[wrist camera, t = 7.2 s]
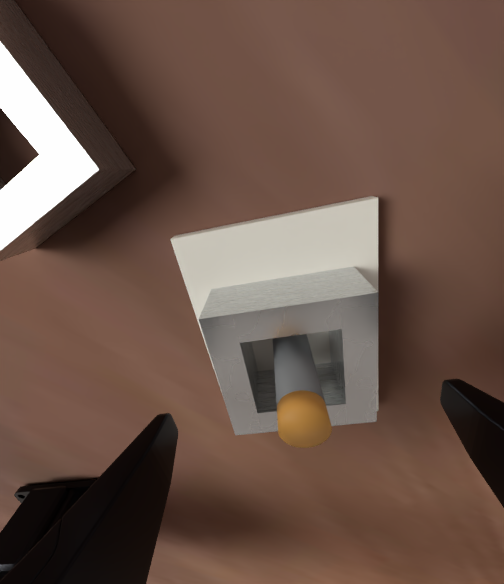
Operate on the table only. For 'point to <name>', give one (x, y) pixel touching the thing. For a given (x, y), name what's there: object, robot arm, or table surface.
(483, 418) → the robot arm
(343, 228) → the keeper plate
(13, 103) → the grey square frame
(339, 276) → the end link
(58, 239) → the table surface
